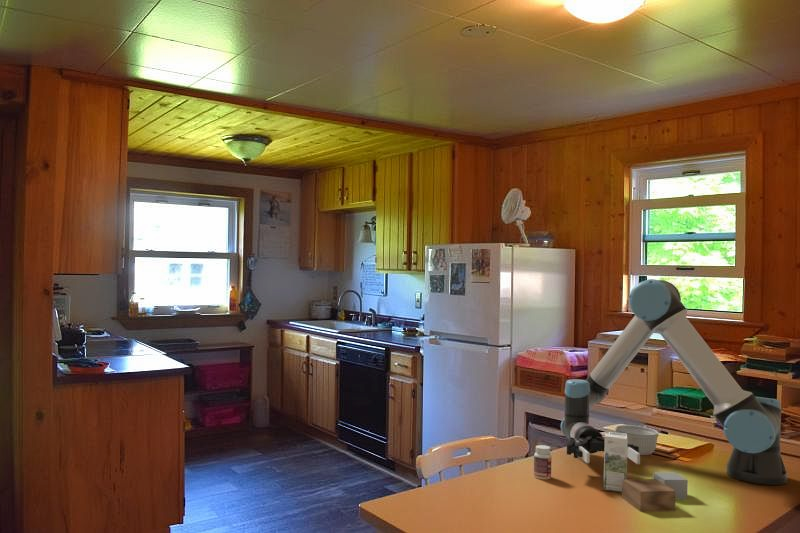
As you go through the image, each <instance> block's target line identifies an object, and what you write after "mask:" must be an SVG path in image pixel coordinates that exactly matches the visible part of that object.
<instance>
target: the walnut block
mask: <svg viewBox="0 0 800 533" xmlns="http://www.w3.org/2000/svg"><path fill="white" fill-rule="evenodd" d="M621 499H623V501H625V502H626V503H628V504H629V505H630V506H632V507H634V509H636V511H637V510H638V512H668V511H669V512H675V511H676V499H675V490H673V489H672V488H670V487H668V486H667V485H665V484H663V483H661V482H660V481H658V480H656V479H654V478H630V479H629V478H627V479H622V492H621Z"/></svg>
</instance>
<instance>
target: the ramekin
mask: <svg viewBox="0 0 800 533" xmlns="http://www.w3.org/2000/svg"><path fill="white" fill-rule="evenodd" d="M614 431H615V433H625V434H627V439H628V444H633V445H635V446H638V447H639V454H640V456H649V454H650V455H653V454H654V453H655V451H656V449H655V448H657V442H658V438H659V431H658V430H655V429H653V428H650V427H646V426H643V425H642V426H641V425H631V424H623V425H622V424H621V425H617V426H615V430H614ZM654 450H655V451H654ZM653 452H654V453H653ZM652 453H653V454H652Z"/></svg>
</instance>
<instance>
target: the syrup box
mask: <svg viewBox="0 0 800 533" xmlns="http://www.w3.org/2000/svg"><path fill="white" fill-rule="evenodd" d="M604 439H605V450H604V452H603V453H604V454H603V455H604V456H603V459H604V461H603V490H604V491H607V492H608V491H609V492H614V493H622V479H628V478H627V477H628V476H627V474H628V473H627V471H628V457H627V445H628V439H627V434H625V433H616V432H612V431H605V432H604Z"/></svg>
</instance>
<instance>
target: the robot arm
mask: <svg viewBox="0 0 800 533" xmlns="http://www.w3.org/2000/svg"><path fill="white" fill-rule="evenodd" d="M628 296H629V297H628V304H629V309H630V311H631V312H632V313H633V314H634V316H633V317H632V319H631V320H630V321H629V323H628V324H627V325H626V327H625V328H624V329H623V330H622V332H620V334H619V336H618V337H617V338H616V340H615V341H614V342H613V344H612V345H611V346H610V347H609V349H608V350H607V351H606V353H605V354H604V355H603V356H602V358H601V359H600V360H599V362H598V363H597V364H596V366H595V367H594V368H593V370H592V371H591V372H590V374H589V375H588V376H587V378H586V379H580V378H579V379H578V378H572V379H567V380H566V382H565V387H564V416H563V419H561V423H560V430H561V432H562V434H563V435H564V437H565V438H566V439H567V440H568V442H567V444H566V455H569V456H570V455H572V454H573V458H574V459H579V458H580V459H581V460H582V461H584V462H585V464H590V455H591V454H595V453H598V452H603V453H604V450H605V437H603V435H602V433H601V432H600V431H599V430H598V429H597V428H595V427H594V426H593V425H590V407H591V406H594V405H597V404H600V403H601V402H602V401H603V400H604V399H605V398H606V395H607V393H608V391H609V390H610V388H611V387H612V386H613V385H614V383H615V382H616V381H617V379H619V377H620V376H621V374H622V373H623V372H624V371H625V369H626V368H627V366H629V364H630V363H631V361H632V360H633V359H634V358H635V357H636V356H637V354H638V353H639V352H640V350H641V349H642V347H644V345H645V344H646V343H647V342H648V340H649V339H650V338H651V337H652V335H653V334H659V335H661V338H662V339H663V340H664V341H665V342H666V344H667V345H668V346H669V349H671V350H672V351H673V354H675V355H676V357H677V359H678V360H679V361H680V362H681V364H682V365H683V366H684V369H686V371H687V372H688V373H689V374H690V376H691V377H692V378H693V380H694V381H695V382H696V383H697V385H698V386H699V389H701V391H702V392H703V393H704V394H705V397H707V398H708V400H709V401H710V402H711V404H712V405H713V412H712V413H713V416H714V417H715V418H716V420H717V421H718V423H719V424H720V425H721V427H722V428H723V433H724V436H725V438H726V440H727V441H728V443H729V444H730V445H731V446H732V447H733V448H732V450H731V453H730V456H729V458H728V461H727V463H726V474H727V475H728V476H730V477H731V478H733V479H736V480H740V481H743V482H747V483H752V484H757V485H764V486H765V485H766V486H782V485H785V484H787V483H788V473H787V470H786V467H785V464H784V461H783V459H782V455H781V420H782V419H781V418H782V411H783V410H782V405H781V404H782V403H781V401H780V400H778V399H776V398H768V397H761V396H755V394H754V393H753V392H752V391H747V390H744V389H742V387H741V386H740V385H739V384H738V382H737V381H736V380H735V379H734V377H733V376H732V375H731V373H730V372H729V371H728V369H727V368H726V367H725V365H724V364H723V363H722V362H721V360H720V359H719V358H718V356H717V355H716V353H714V352H713V350H712V349H711V347H710V346H709V345H708V343H706V341H705V340H704V338H703V337H702V336H701V335H700V333H699V332H698V331H697V329H696V328H695V327H694V326H693V324H692V323H691V322H690V320H689V319H688V317H687V315H688V309H687V307H685V304H684V303H682V299H681V293H680V291H679V289H678V288H677V286H675V284H673V283H671V282H670V281H667V280H663V279H661V280H660V279H651V278H650V279H646V280H643V281H640V282H639V283H637V284H636V285H635V286H634V287H633V288H632V289H631V290H630V294H629V295H628ZM627 459H630V460H631V461H632V462H633V463H635V464H636V465H640V464H641V455H640V454H639V447H638V446H635V445H633V444H628V445H627Z"/></svg>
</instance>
